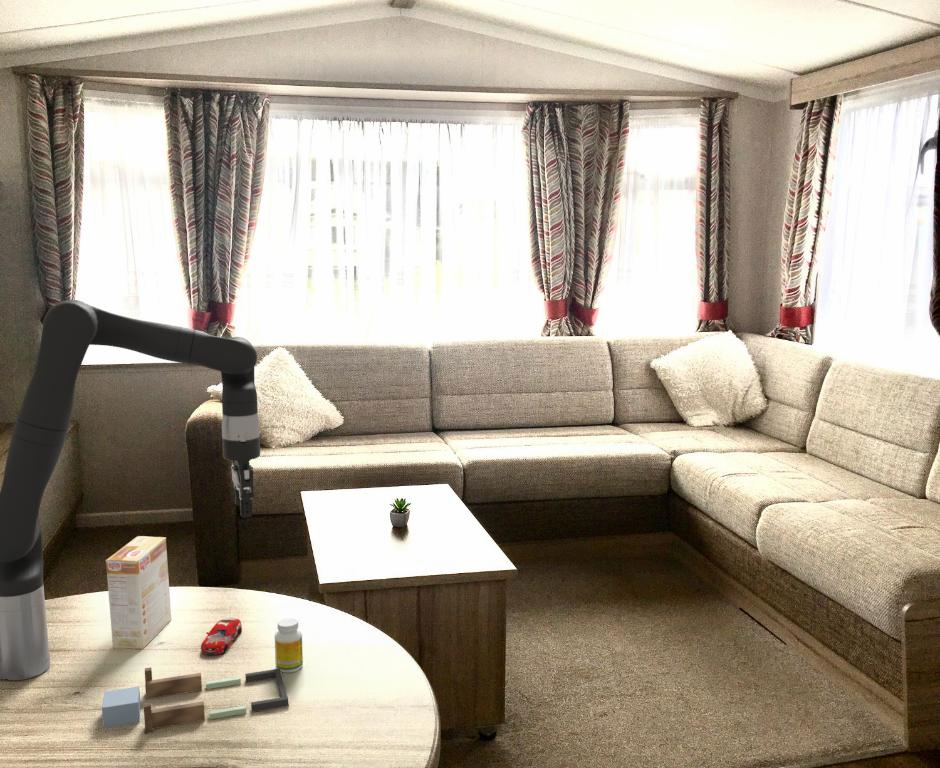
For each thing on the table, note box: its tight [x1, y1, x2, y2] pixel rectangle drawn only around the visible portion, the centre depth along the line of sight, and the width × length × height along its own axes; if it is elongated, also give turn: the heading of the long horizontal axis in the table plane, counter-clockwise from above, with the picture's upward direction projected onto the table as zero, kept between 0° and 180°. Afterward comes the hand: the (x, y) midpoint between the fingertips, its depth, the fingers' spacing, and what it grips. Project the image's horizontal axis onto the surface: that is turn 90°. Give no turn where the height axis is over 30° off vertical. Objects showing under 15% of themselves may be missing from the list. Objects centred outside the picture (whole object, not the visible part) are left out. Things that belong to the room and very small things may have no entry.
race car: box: [200, 617, 243, 656], centre depth 192 cm, size 13×5×4 cm, turn 172°
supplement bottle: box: [274, 617, 304, 674], centre depth 180 cm, size 5×5×10 cm
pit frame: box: [244, 668, 290, 713], centre depth 171 cm, size 7×12×1 cm, turn 19°
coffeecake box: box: [105, 535, 172, 650], centre depth 195 cm, size 15×7×20 cm, turn 175°
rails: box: [205, 676, 247, 720], centre depth 169 cm, size 6×12×1 cm, turn 19°
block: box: [101, 686, 141, 729], centre depth 163 cm, size 6×6×4 cm
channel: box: [143, 666, 206, 734], centre depth 165 cm, size 10×15×5 cm
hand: (243, 510), depth 189 cm, fingers open, 8 cm apart
